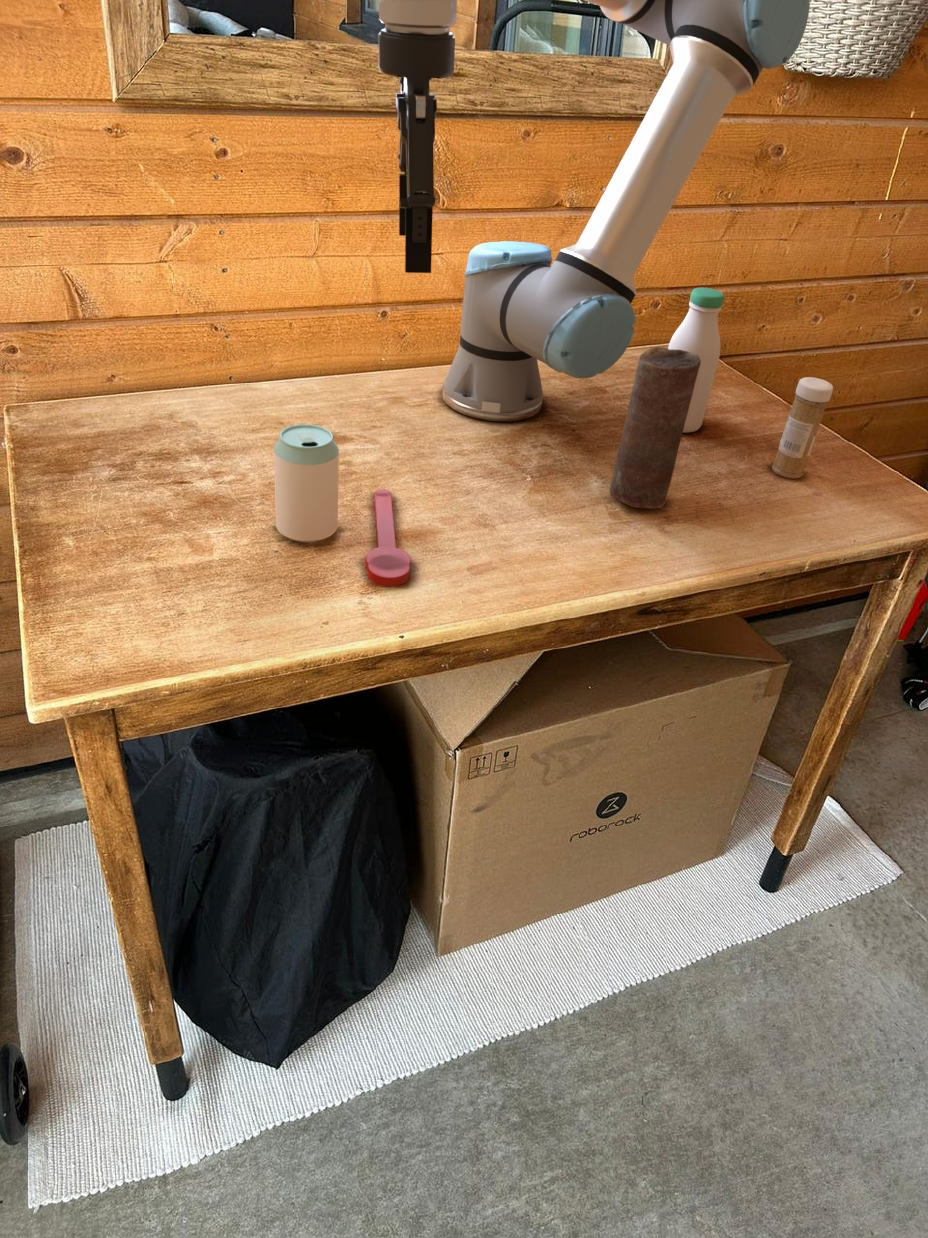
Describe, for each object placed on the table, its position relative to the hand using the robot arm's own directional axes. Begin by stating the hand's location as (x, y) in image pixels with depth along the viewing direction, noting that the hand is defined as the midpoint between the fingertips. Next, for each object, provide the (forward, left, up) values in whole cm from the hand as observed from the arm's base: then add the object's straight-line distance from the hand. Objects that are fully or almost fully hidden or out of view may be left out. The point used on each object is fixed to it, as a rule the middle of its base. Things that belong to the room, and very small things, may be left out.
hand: (414, 252), depth 104 cm
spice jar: (-5, +55, -28) cm, 62 cm away
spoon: (+16, -3, -28) cm, 32 cm away
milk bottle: (-20, +43, -28) cm, 56 cm away
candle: (+5, +30, -28) cm, 42 cm away
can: (+14, -12, -28) cm, 33 cm away
